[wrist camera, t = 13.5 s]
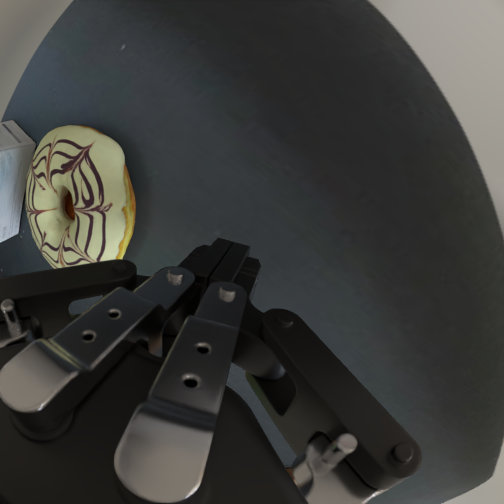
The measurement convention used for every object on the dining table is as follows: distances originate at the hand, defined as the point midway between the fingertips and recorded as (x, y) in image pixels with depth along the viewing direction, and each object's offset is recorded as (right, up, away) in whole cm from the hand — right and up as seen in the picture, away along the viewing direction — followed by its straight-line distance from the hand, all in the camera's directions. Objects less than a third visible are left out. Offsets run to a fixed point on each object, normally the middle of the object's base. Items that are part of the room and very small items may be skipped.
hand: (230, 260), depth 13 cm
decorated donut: (-11, +4, +5) cm, 12 cm away
